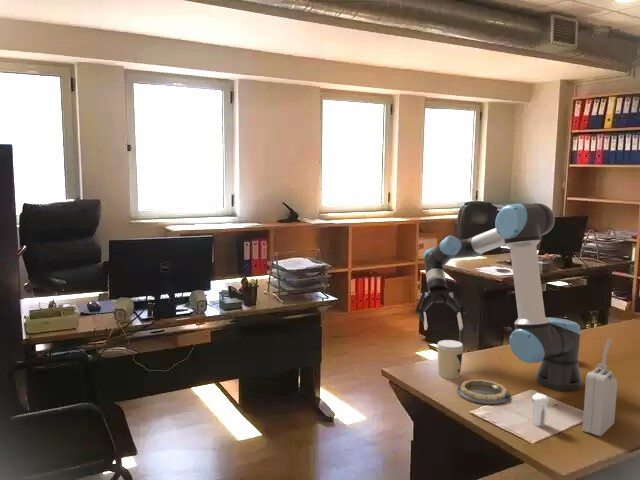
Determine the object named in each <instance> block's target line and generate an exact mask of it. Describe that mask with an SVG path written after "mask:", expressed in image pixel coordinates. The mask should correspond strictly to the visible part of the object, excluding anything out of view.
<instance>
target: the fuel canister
mask: <svg viewBox="0 0 640 480" xmlns="http://www.w3.org/2000/svg"><path fill="white" fill-rule="evenodd" d="M611 341H612V338H608V337H607V339H606V342H605V345H604V349H603V355H602V359H601V362H598V364H597V365H595V369H593V370H592V371H589V372H588V373H587V374H586V376H585V390H584V404H583V418H582V432H585V433H589V434H592V435H594V436H597V437H602V436H603V435H604V434H605V432H607V431H608V430H609V429H610V428H611V427H612V426H613V425H614V424H615V419H616V406H617V405H616V404H617V393H618V379H617V377H614V375H613V371H610V370H609V369H608V366H607V365H608V364H607V358H608V352H609V350H610V345H611Z"/></svg>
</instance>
